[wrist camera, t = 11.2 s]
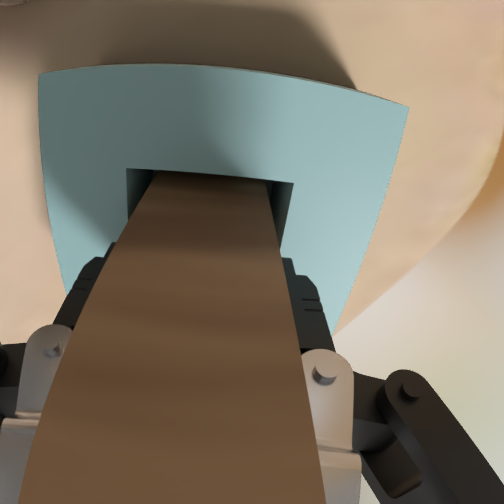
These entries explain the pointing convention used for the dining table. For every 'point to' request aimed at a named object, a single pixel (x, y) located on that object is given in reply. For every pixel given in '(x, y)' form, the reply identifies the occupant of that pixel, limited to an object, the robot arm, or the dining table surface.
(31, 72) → the dining table surface
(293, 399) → the square peg
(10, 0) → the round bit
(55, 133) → the socket block
